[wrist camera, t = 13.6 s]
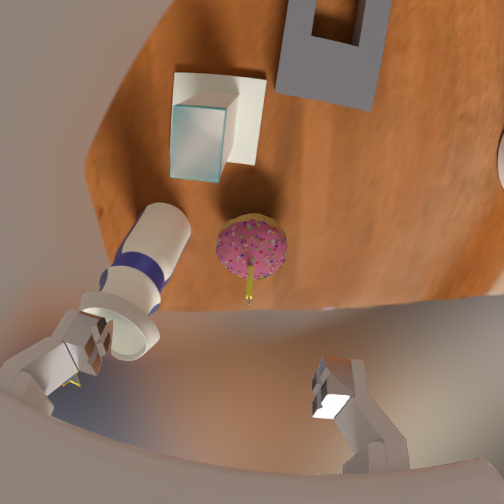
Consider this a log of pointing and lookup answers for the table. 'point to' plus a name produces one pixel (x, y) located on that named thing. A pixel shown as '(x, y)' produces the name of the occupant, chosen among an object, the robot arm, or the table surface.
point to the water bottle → (138, 280)
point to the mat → (248, 106)
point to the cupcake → (251, 247)
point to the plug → (203, 135)
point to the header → (333, 56)
